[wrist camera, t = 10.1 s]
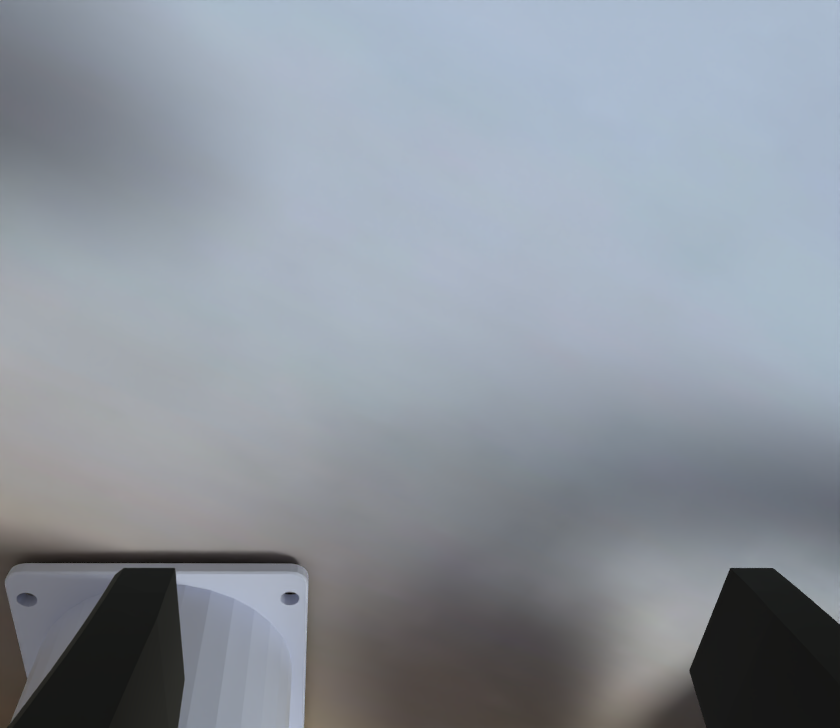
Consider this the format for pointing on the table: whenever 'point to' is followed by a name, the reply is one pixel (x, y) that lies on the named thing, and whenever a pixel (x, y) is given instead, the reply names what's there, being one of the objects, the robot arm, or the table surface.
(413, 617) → the table surface
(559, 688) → the table surface
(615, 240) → the table surface
